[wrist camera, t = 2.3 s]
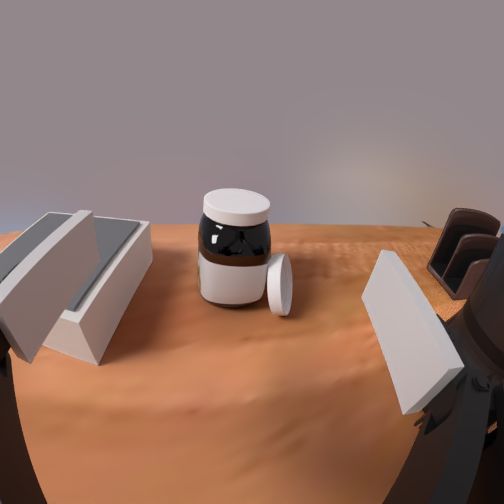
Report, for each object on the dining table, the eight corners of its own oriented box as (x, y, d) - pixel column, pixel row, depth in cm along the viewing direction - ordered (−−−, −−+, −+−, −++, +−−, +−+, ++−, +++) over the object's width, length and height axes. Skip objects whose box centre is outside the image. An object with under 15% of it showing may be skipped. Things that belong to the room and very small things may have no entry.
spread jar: (196, 264, 37) (199, 182, 31) (276, 264, 40) (291, 187, 33) (199, 331, 27) (200, 231, 21) (302, 326, 30) (332, 234, 24)
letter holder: (424, 268, 45) (452, 201, 37) (476, 270, 47) (500, 216, 40) (452, 301, 36) (489, 228, 29) (500, 296, 39) (529, 240, 32)
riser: (152, 260, 36) (149, 219, 33) (98, 365, 21) (77, 319, 18) (56, 245, 36) (48, 209, 32) (-10, 320, 21) (-31, 279, 17)
